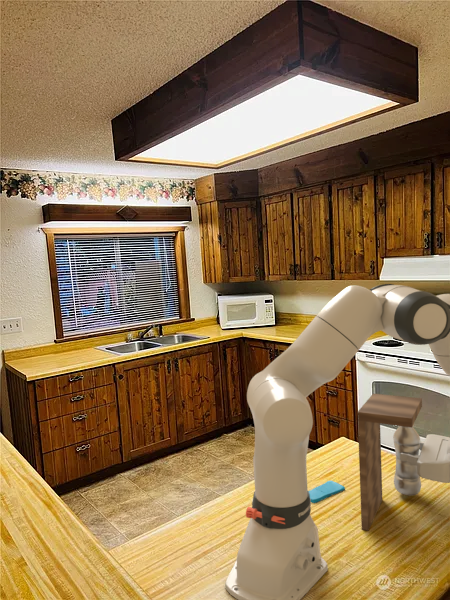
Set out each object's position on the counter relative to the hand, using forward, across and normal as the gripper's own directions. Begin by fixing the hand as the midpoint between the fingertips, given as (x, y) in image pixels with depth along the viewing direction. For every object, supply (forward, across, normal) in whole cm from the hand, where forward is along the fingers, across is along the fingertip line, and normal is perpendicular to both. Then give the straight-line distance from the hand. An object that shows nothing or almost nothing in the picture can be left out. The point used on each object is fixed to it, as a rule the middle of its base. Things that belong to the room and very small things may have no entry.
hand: (402, 450), depth 117 cm
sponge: (+20, +8, +13) cm, 25 cm away
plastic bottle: (-1, 0, +12) cm, 12 cm away
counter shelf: (0, +12, +12) cm, 17 cm away
